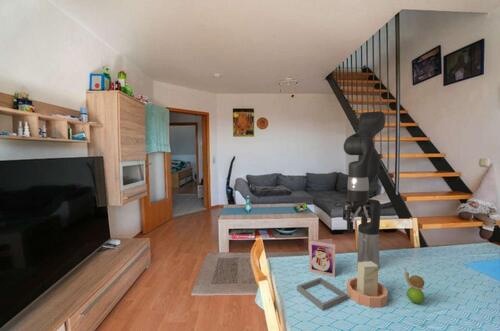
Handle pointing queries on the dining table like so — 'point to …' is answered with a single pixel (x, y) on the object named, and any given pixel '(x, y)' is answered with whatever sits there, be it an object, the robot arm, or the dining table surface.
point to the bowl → (364, 299)
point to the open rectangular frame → (318, 303)
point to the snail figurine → (415, 288)
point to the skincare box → (367, 278)
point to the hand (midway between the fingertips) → (357, 228)
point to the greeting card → (322, 257)
